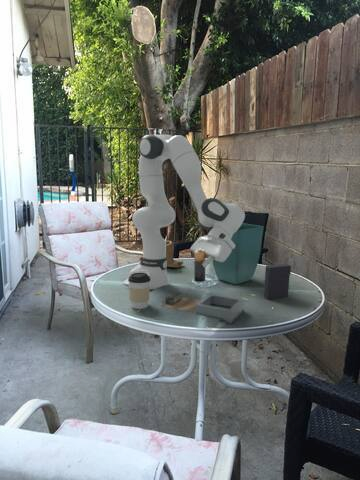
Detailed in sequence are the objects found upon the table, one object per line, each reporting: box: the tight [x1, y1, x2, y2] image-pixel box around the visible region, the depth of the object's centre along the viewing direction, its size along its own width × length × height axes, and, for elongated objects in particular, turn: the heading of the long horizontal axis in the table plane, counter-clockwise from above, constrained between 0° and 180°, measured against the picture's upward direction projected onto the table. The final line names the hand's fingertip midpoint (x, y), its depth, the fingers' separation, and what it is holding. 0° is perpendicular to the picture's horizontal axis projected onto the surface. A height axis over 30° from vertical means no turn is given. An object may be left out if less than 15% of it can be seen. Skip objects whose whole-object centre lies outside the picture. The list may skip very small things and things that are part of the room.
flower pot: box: [208, 222, 264, 285], centre depth 209 cm, size 20×20×28 cm
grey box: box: [263, 263, 292, 301], centre depth 184 cm, size 11×4×15 cm, turn 111°
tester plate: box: [161, 291, 202, 313], centre depth 171 cm, size 14×14×4 cm
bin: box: [194, 293, 245, 324], centre depth 164 cm, size 15×15×5 cm
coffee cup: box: [127, 273, 151, 310], centre depth 167 cm, size 9×9×15 cm
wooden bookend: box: [165, 240, 184, 268], centre depth 234 cm, size 15×12×15 cm
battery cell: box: [193, 249, 206, 283], centre depth 165 cm, size 4×4×13 cm
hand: (198, 264), depth 164 cm, fingers closed on battery cell, 4 cm apart
